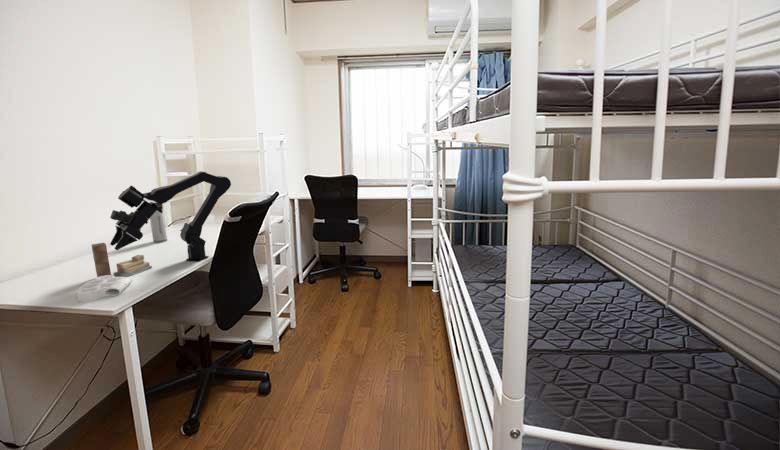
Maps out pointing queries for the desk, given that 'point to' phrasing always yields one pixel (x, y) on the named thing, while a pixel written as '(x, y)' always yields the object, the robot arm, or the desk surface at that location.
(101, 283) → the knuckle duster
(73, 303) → the desk surface
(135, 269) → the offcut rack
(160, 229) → the travel mug
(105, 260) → the walnut block
